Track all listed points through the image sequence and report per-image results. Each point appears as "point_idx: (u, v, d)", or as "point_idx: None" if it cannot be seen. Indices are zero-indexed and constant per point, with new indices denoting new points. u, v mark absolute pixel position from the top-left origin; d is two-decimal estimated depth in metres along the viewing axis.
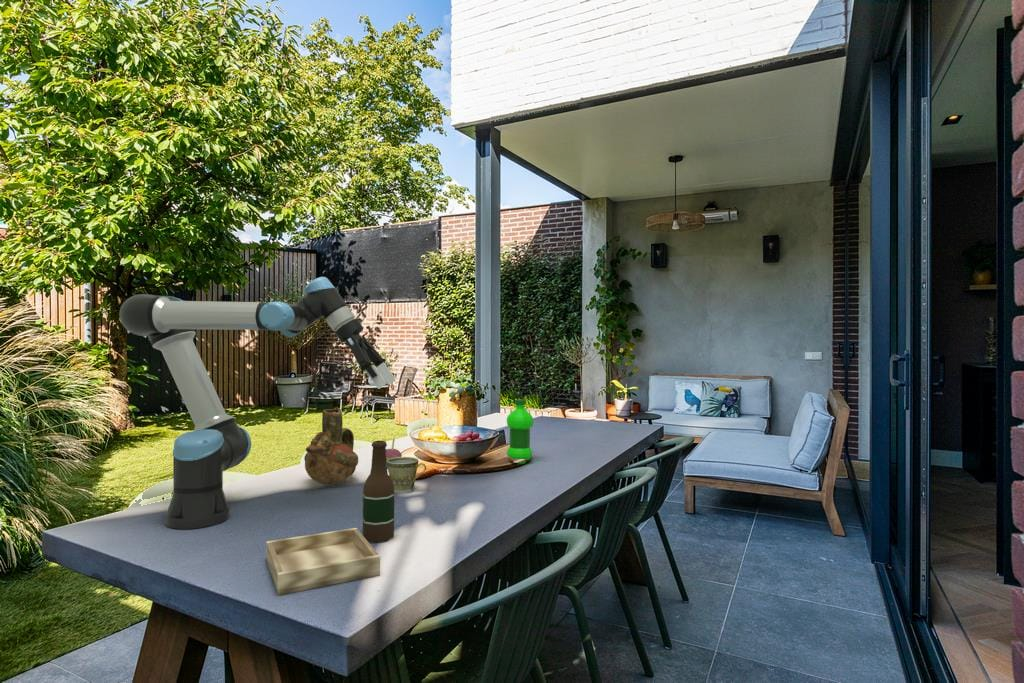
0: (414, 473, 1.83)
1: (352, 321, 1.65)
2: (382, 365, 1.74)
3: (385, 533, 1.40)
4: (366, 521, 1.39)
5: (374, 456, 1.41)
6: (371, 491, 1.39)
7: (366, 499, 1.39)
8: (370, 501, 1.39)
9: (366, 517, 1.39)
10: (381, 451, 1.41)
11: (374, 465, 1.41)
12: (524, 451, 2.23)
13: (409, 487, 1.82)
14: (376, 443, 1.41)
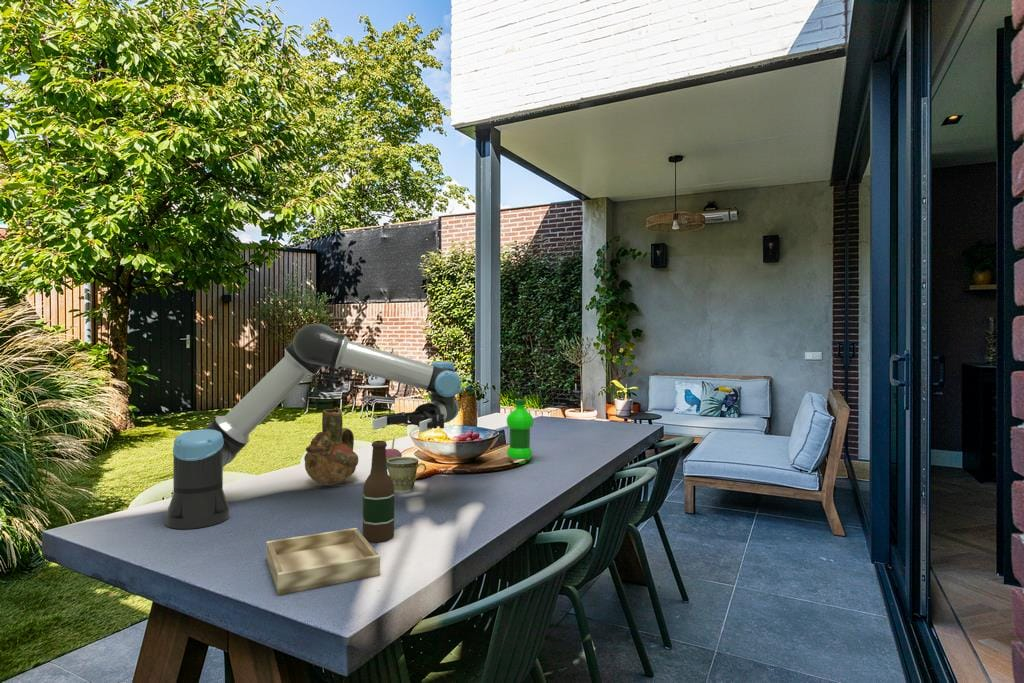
0: (414, 473, 1.83)
1: None
2: (385, 423, 1.59)
3: (385, 533, 1.40)
4: (366, 521, 1.39)
5: (374, 456, 1.41)
6: (371, 491, 1.39)
7: (366, 499, 1.39)
8: (370, 501, 1.39)
9: (366, 517, 1.39)
10: (381, 451, 1.41)
11: (374, 465, 1.41)
12: (524, 451, 2.23)
13: (409, 487, 1.82)
14: (376, 443, 1.41)
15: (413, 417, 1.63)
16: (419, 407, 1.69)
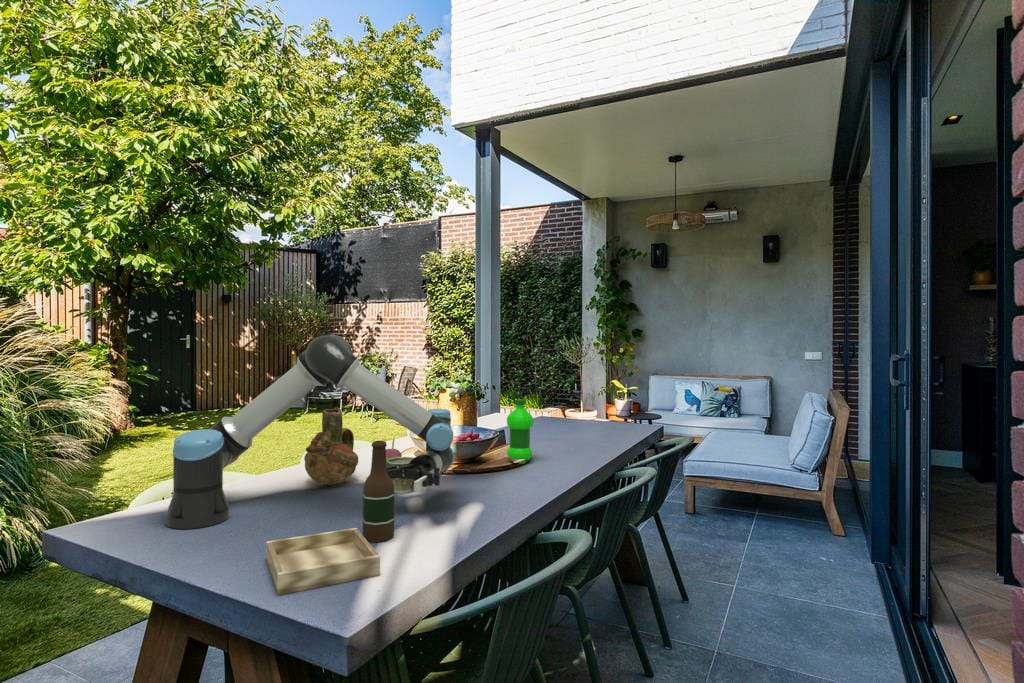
0: None
1: None
2: None
3: (385, 533, 1.40)
4: (366, 521, 1.39)
5: (374, 456, 1.41)
6: (371, 491, 1.39)
7: (366, 499, 1.39)
8: (370, 501, 1.39)
9: (366, 517, 1.39)
10: (381, 451, 1.41)
11: (374, 465, 1.41)
12: (524, 451, 2.23)
13: (409, 487, 1.82)
14: (376, 443, 1.41)
15: (408, 471, 1.59)
16: (414, 459, 1.65)
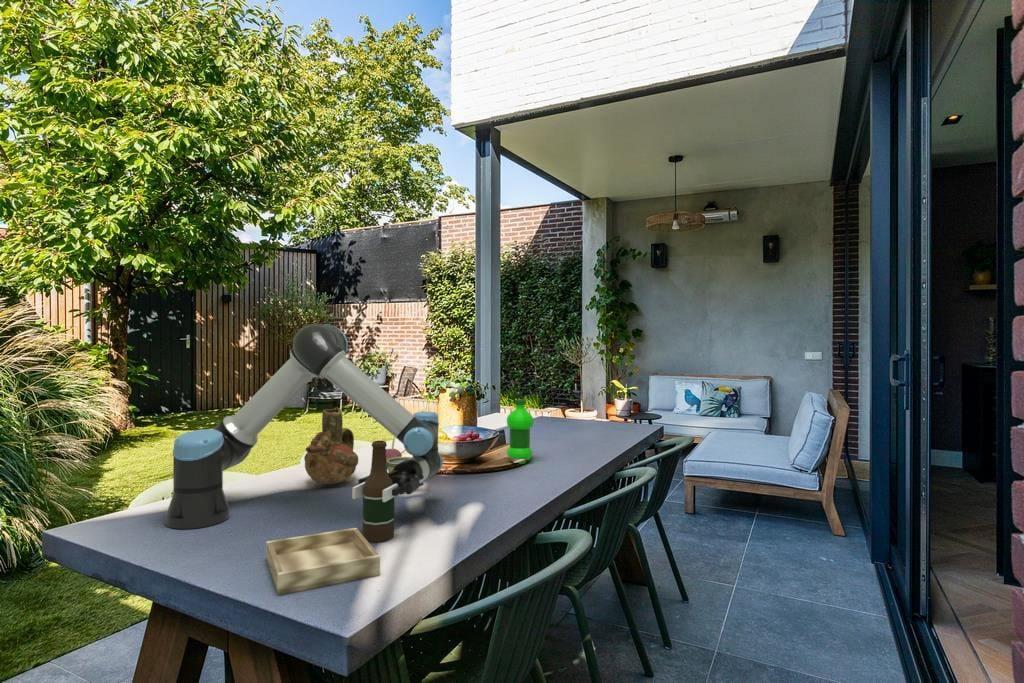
0: None
1: None
2: None
3: (385, 533, 1.40)
4: (366, 521, 1.39)
5: (374, 456, 1.41)
6: (371, 491, 1.39)
7: (366, 499, 1.39)
8: (370, 501, 1.39)
9: (366, 517, 1.39)
10: (381, 451, 1.41)
11: (374, 465, 1.41)
12: (524, 451, 2.23)
13: None
14: (376, 443, 1.41)
15: (391, 478, 1.51)
16: (399, 465, 1.56)
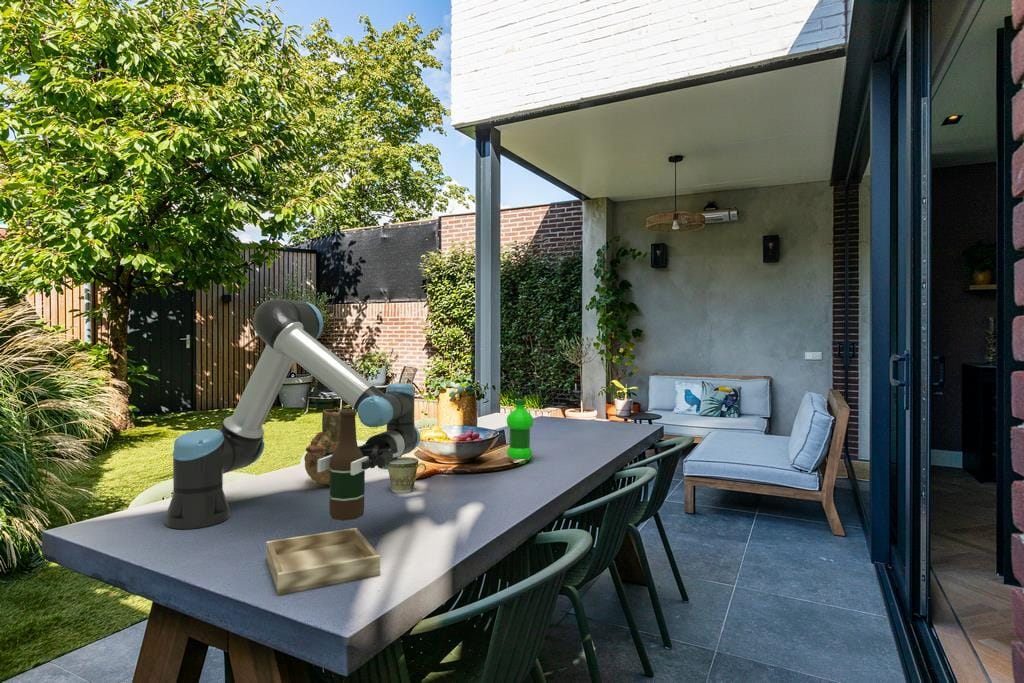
0: (414, 473, 1.83)
1: None
2: None
3: (354, 510, 1.27)
4: (333, 497, 1.26)
5: (342, 425, 1.28)
6: (339, 464, 1.26)
7: (333, 472, 1.26)
8: (338, 474, 1.26)
9: (333, 492, 1.26)
10: (350, 420, 1.28)
11: (342, 435, 1.28)
12: (524, 451, 2.23)
13: (409, 487, 1.82)
14: (344, 411, 1.28)
15: (362, 452, 1.38)
16: (371, 439, 1.43)
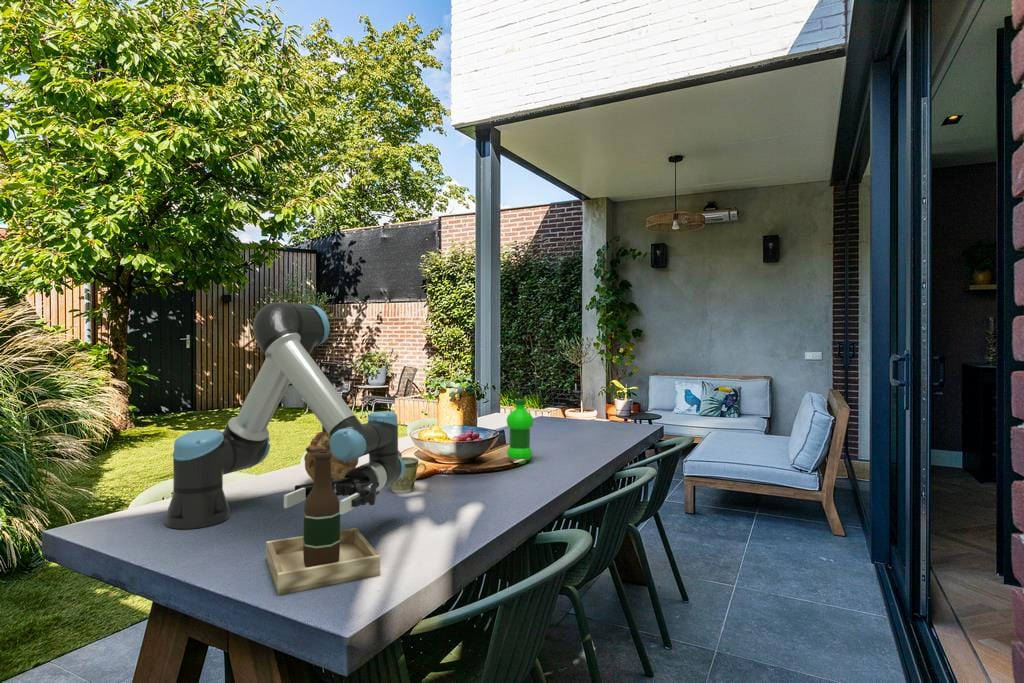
0: (414, 473, 1.83)
1: None
2: (303, 497, 1.28)
3: (328, 558, 1.21)
4: (306, 544, 1.21)
5: (316, 469, 1.23)
6: (312, 509, 1.21)
7: (306, 518, 1.21)
8: (311, 520, 1.21)
9: (306, 539, 1.21)
10: (325, 463, 1.23)
11: (316, 479, 1.23)
12: (524, 451, 2.23)
13: (409, 487, 1.82)
14: (319, 454, 1.23)
15: (340, 487, 1.33)
16: (350, 472, 1.38)
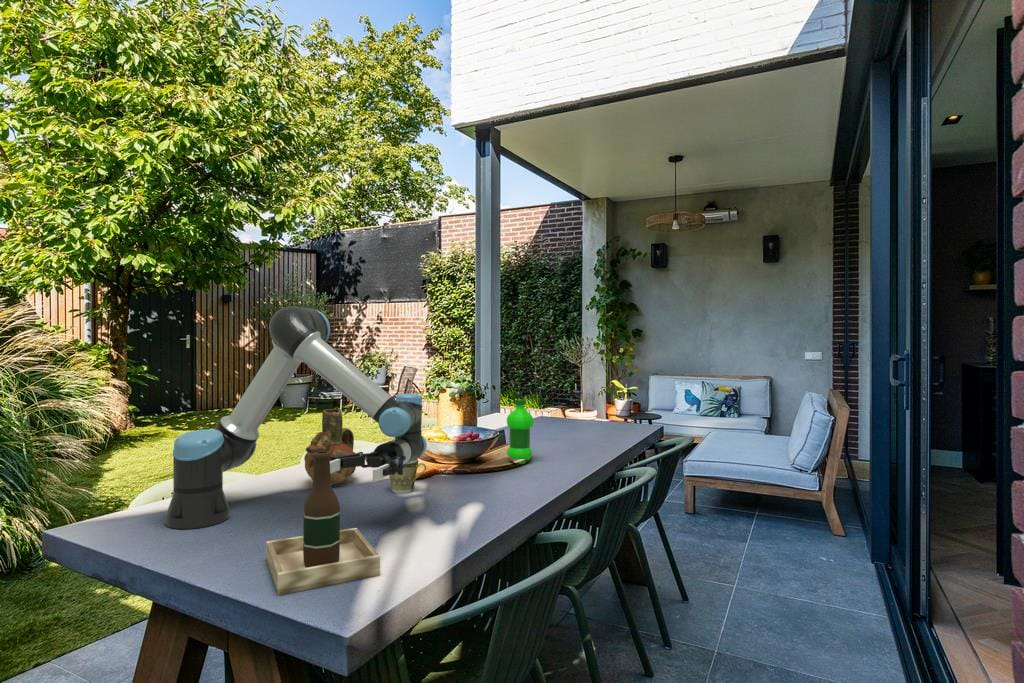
0: (414, 473, 1.83)
1: None
2: (338, 467, 1.42)
3: (328, 558, 1.21)
4: (306, 544, 1.21)
5: (316, 469, 1.23)
6: (312, 510, 1.21)
7: (305, 518, 1.21)
8: (311, 521, 1.21)
9: (306, 539, 1.21)
10: (324, 463, 1.23)
11: (315, 480, 1.22)
12: (524, 451, 2.23)
13: (409, 487, 1.82)
14: (318, 454, 1.22)
15: (370, 459, 1.46)
16: (379, 447, 1.52)
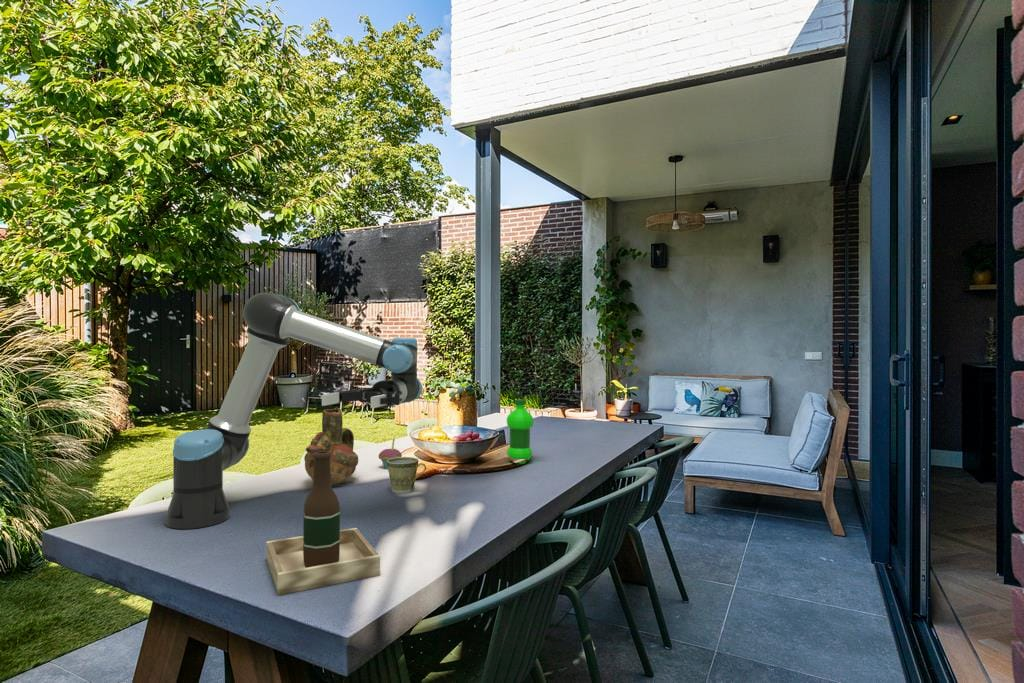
0: (414, 473, 1.83)
1: (394, 403, 1.60)
2: (337, 400, 1.48)
3: (328, 558, 1.21)
4: (306, 544, 1.21)
5: (316, 469, 1.23)
6: (312, 510, 1.21)
7: (306, 518, 1.21)
8: (311, 521, 1.21)
9: (306, 539, 1.21)
10: (324, 463, 1.23)
11: (316, 480, 1.22)
12: (524, 451, 2.23)
13: (409, 487, 1.82)
14: (318, 454, 1.22)
15: (368, 394, 1.53)
16: (376, 384, 1.58)
